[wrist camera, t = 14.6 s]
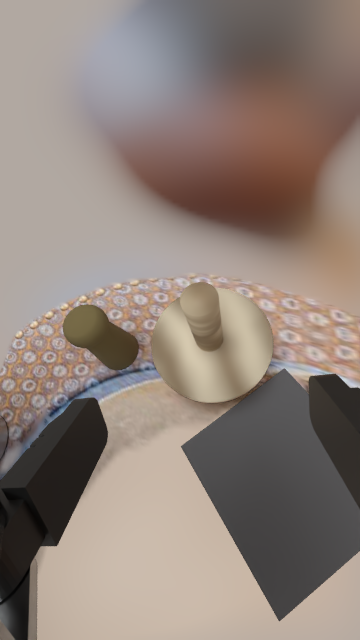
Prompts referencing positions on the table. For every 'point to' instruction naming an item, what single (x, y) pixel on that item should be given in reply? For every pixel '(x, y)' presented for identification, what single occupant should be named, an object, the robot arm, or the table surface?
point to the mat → (278, 492)
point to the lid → (212, 344)
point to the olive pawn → (100, 336)
